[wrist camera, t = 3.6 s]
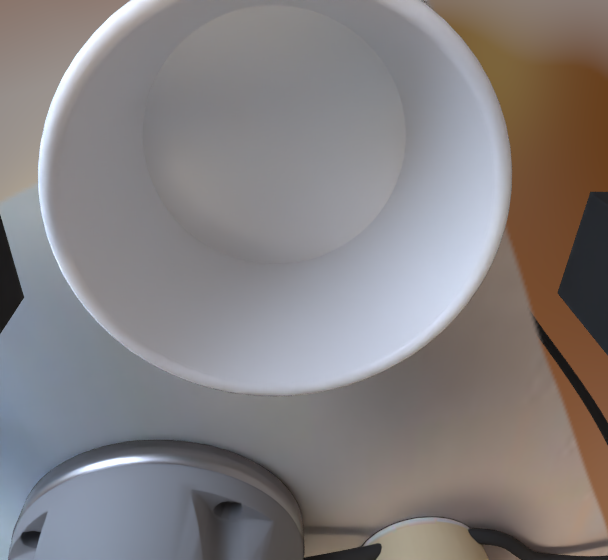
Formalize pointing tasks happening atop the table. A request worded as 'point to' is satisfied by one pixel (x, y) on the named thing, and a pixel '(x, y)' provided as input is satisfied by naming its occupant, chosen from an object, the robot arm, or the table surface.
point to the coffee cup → (427, 541)
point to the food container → (275, 186)
